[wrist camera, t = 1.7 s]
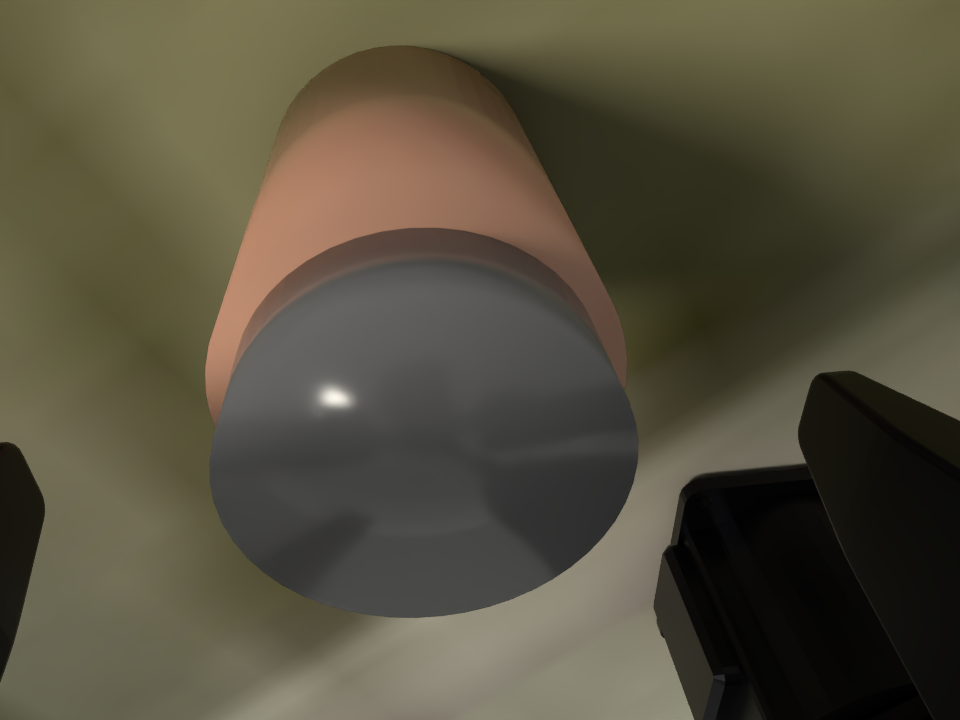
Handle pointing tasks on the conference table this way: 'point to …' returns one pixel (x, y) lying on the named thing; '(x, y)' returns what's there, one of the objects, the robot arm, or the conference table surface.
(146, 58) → the conference table surface
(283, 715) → the conference table surface
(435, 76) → the shaker
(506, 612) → the conference table surface
